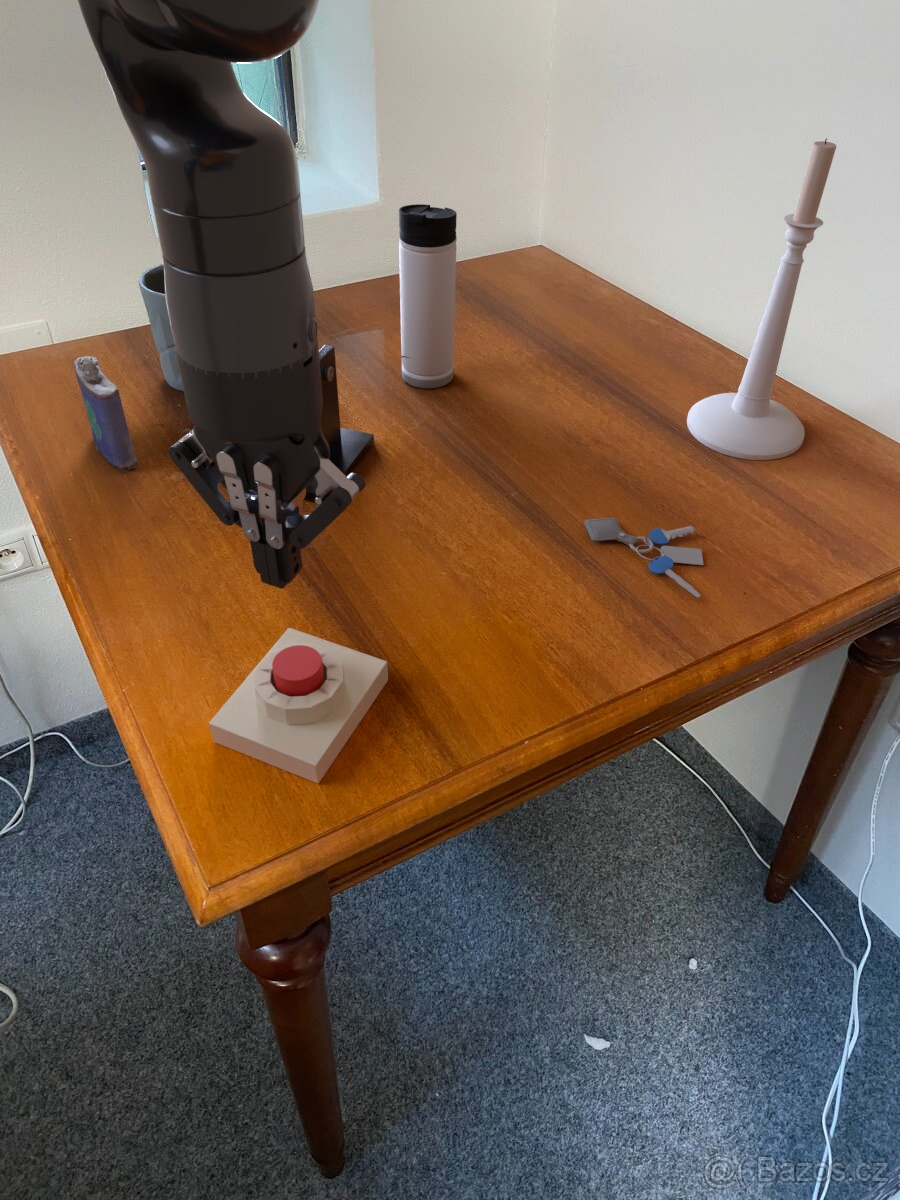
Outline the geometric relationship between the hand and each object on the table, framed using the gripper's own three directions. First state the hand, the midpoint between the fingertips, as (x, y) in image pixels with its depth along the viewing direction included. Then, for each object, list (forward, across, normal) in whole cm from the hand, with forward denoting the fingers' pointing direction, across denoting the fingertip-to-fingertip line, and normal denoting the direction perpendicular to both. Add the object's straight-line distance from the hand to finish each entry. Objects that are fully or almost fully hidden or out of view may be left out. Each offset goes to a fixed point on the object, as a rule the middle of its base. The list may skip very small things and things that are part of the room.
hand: (280, 578), depth 58 cm
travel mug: (+13, -13, +52) cm, 55 cm away
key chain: (+13, +20, +31) cm, 40 cm away
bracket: (+13, -16, +29) cm, 36 cm away
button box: (+13, 0, 0) cm, 13 cm away
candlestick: (+13, +24, +57) cm, 63 cm away
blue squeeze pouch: (+14, -36, +23) cm, 45 cm away
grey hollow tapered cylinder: (+13, -38, +40) cm, 57 cm away
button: (+10, 0, 0) cm, 10 cm away
